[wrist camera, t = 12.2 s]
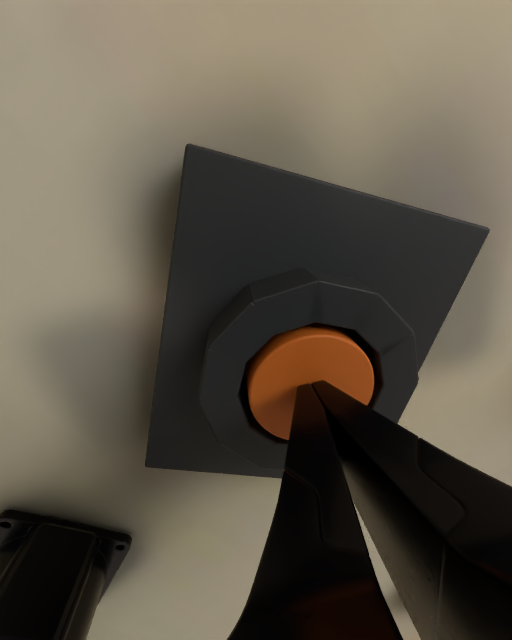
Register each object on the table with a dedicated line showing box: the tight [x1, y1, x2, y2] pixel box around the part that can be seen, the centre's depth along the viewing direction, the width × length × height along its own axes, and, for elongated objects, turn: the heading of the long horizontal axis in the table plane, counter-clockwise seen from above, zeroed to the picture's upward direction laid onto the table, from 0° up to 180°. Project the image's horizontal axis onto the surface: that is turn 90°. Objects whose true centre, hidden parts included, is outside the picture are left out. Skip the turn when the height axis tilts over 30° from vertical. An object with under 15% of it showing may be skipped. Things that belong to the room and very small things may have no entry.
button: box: [245, 322, 374, 440], centre depth 10 cm, size 4×4×2 cm
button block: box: [145, 143, 490, 478], centre depth 11 cm, size 12×10×4 cm
